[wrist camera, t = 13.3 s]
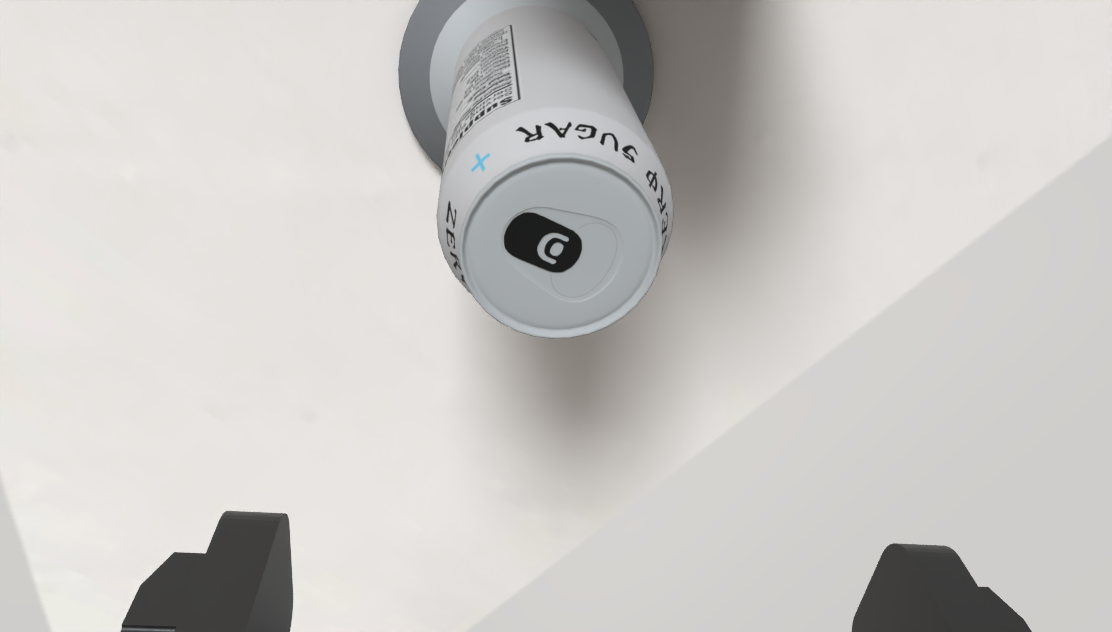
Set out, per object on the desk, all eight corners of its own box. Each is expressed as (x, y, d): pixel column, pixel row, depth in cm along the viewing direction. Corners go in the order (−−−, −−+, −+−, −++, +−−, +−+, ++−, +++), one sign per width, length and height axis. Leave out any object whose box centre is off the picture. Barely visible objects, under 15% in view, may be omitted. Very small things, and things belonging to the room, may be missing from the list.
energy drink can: (562, 178, 34) (608, 390, 22) (429, 115, 33) (392, 305, 20) (636, 46, 32) (737, 198, 19) (495, -31, 30) (502, 81, 17)
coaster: (672, -41, 31) (676, -38, 30) (628, 205, 36) (631, 211, 35) (403, -75, 30) (401, -72, 29) (396, 184, 35) (395, 191, 34)
